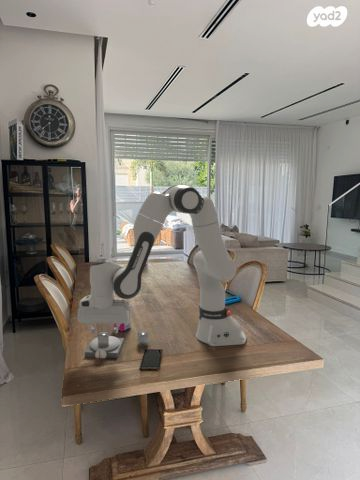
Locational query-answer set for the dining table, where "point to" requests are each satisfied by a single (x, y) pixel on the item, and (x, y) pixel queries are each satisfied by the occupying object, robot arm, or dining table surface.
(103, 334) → the cylinder
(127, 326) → the supplement box
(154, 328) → the dining table surface
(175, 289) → the dining table surface
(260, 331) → the dining table surface
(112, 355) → the scale
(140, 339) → the cylinder
